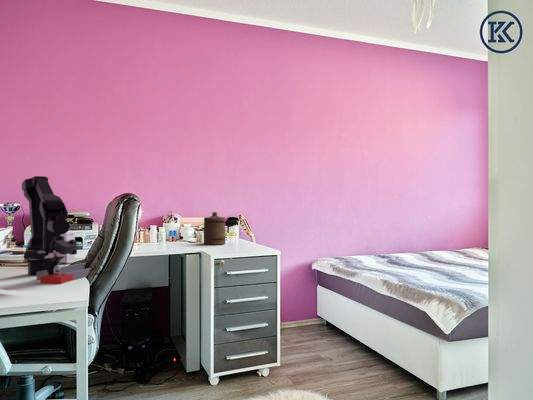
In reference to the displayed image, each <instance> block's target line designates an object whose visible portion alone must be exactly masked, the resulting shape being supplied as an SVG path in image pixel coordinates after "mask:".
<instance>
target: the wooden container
mask: <svg viewBox="0 0 533 400" xmlns="http://www.w3.org/2000/svg"><path fill="white" fill-rule="evenodd" d="M207 244H209V245H212V246H214V245H216V246H218V245H225V244H226V217H225V216H224V217H223V216H218V212H216V211H213V212H212V215H211V216H208V217H204V218H203V245H207ZM209 245H208V246H209Z"/></svg>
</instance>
